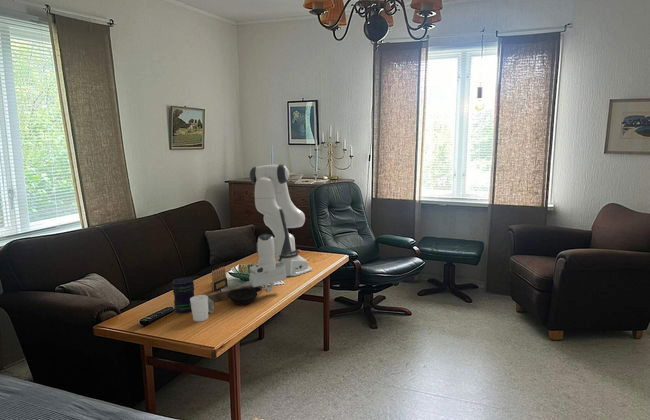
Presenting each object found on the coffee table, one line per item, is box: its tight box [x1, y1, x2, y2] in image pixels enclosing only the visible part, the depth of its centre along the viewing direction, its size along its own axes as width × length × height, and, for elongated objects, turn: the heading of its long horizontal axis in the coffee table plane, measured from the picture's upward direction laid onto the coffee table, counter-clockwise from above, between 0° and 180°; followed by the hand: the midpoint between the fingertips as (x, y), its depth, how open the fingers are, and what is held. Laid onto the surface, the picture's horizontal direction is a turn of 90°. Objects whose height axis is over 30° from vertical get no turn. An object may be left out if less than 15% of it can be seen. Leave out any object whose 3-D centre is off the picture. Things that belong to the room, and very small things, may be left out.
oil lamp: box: [228, 287, 261, 305], centre depth 224 cm, size 15×20×5 cm
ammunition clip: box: [211, 265, 229, 293], centre depth 243 cm, size 11×2×12 cm, turn 150°
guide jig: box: [205, 284, 263, 314], centre depth 225 cm, size 34×15×5 cm, turn 125°
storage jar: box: [172, 276, 195, 315], centre depth 214 cm, size 10×10×15 cm
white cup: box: [190, 294, 209, 322], centre depth 202 cm, size 8×8×10 cm
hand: (269, 291), depth 231 cm, fingers closed
